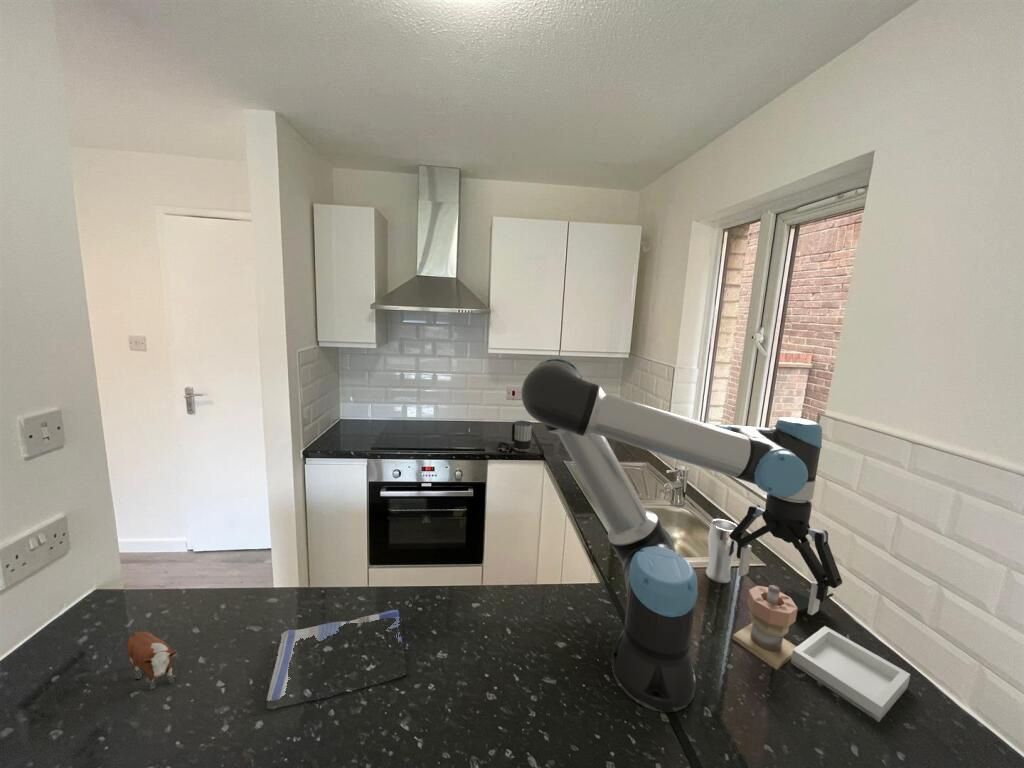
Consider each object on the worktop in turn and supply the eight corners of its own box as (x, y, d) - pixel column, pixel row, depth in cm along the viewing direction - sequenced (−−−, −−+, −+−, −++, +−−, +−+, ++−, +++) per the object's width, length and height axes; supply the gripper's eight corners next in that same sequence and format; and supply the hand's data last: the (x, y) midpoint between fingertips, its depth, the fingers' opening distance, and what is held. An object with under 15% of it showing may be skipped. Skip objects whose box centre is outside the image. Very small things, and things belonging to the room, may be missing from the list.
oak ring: (776, 640, 81) (778, 627, 81) (744, 619, 87) (746, 607, 86) (792, 629, 85) (794, 616, 84) (760, 610, 90) (762, 597, 89)
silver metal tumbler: (736, 586, 106) (743, 533, 104) (707, 582, 107) (714, 529, 105) (727, 571, 113) (734, 520, 110) (701, 566, 114) (707, 517, 112)
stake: (776, 669, 80) (786, 608, 78) (732, 638, 88) (740, 581, 86) (798, 652, 85) (809, 594, 83) (755, 624, 92) (763, 570, 90)
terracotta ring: (781, 631, 80) (783, 617, 79) (740, 606, 86) (742, 593, 86) (801, 617, 84) (803, 604, 83) (761, 594, 91) (762, 582, 90)
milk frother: (534, 450, 211) (536, 423, 209) (514, 457, 199) (516, 428, 197) (514, 444, 220) (515, 417, 218) (493, 450, 208) (495, 422, 206)
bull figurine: (154, 710, 66) (149, 666, 65) (125, 670, 73) (120, 630, 72) (186, 690, 70) (182, 648, 69) (156, 654, 77) (152, 615, 76)
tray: (878, 722, 70) (882, 707, 70) (790, 662, 82) (792, 649, 82) (907, 687, 78) (910, 674, 77) (822, 638, 89) (824, 625, 89)
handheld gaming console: (781, 581, 107) (812, 567, 100) (804, 608, 103) (838, 595, 97) (762, 604, 100) (794, 590, 93) (787, 633, 97) (822, 621, 90)
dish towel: (282, 638, 83) (282, 626, 82) (401, 616, 90) (401, 605, 90) (261, 717, 67) (260, 702, 66) (408, 681, 74) (408, 668, 74)
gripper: (876, 517, 73) (857, 623, 76) (738, 471, 94) (728, 556, 97) (858, 527, 69) (839, 638, 72) (719, 477, 90) (709, 565, 93)
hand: (775, 591), depth 84 cm, fingers open, 13 cm apart
